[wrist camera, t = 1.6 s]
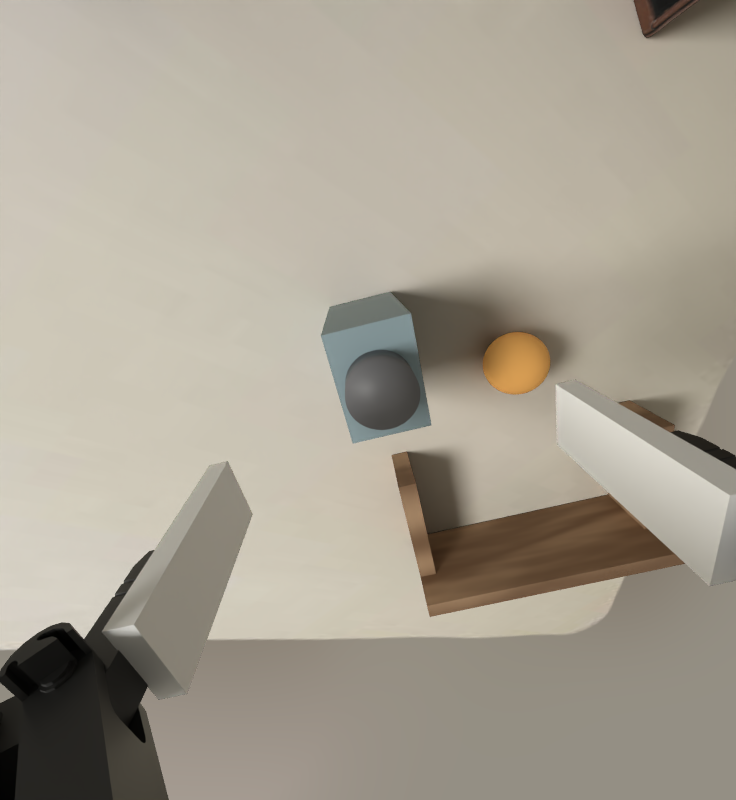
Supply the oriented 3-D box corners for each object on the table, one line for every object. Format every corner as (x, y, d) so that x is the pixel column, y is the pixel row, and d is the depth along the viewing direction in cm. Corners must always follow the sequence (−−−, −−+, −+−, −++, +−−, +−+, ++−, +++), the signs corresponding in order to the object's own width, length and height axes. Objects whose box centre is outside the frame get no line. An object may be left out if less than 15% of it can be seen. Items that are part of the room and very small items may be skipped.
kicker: (329, 306, 28) (318, 344, 17) (390, 291, 28) (417, 320, 17) (351, 385, 31) (353, 461, 20) (406, 372, 31) (439, 441, 20)
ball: (471, 334, 30) (493, 349, 25) (529, 319, 29) (563, 333, 25) (477, 387, 32) (499, 410, 27) (532, 374, 31) (564, 395, 27)
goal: (391, 455, 34) (403, 512, 27) (629, 400, 33) (709, 444, 26) (414, 547, 39) (429, 616, 32) (621, 502, 38) (686, 563, 31)
